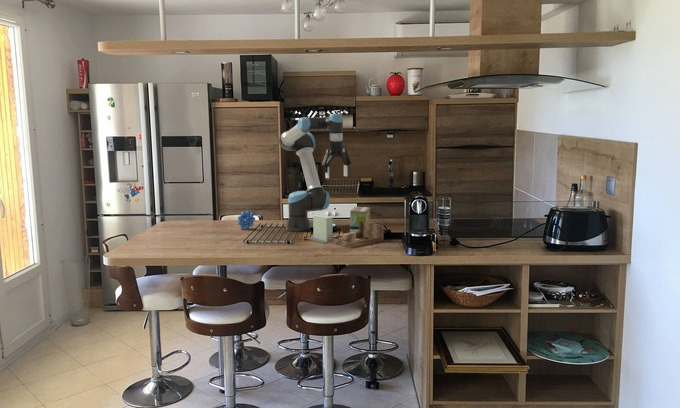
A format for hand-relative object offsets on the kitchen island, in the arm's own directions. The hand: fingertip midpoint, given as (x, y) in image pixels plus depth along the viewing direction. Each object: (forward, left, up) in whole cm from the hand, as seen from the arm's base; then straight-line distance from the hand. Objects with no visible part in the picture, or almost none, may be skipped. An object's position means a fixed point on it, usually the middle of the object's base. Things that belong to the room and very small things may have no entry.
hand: (336, 177), depth 328 cm
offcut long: (+21, -9, -35) cm, 42 cm away
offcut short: (+21, -9, -32) cm, 39 cm away
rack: (+21, -4, -34) cm, 40 cm away
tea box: (+5, +14, -35) cm, 38 cm away
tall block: (+4, -14, -34) cm, 37 cm away
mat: (+4, -14, -34) cm, 37 cm away
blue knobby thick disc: (-51, -31, -35) cm, 69 cm away
